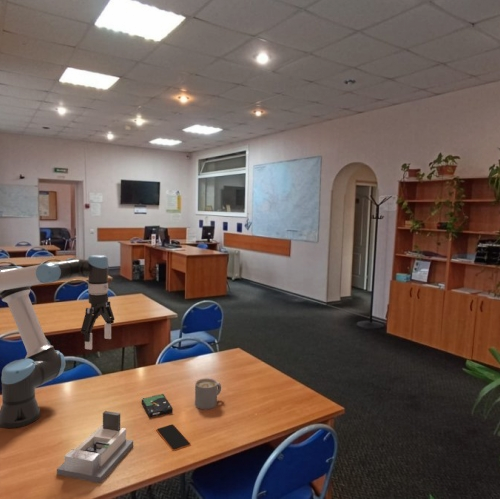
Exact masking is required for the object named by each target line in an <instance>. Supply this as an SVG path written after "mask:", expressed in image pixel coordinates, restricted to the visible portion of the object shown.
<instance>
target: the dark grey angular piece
mask: <svg viewBox="0 0 500 499" xmlns="http://www.w3.org/2000/svg"><path fill="white" fill-rule="evenodd" d="M96 444H100V445H106V446H109V443H105V442H99V441H97V442H96V443H94V448H91V447H88V448H87V449H86V451H87V452H93V453H98V452H99V451H100V450H101V449H96Z"/></svg>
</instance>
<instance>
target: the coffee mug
mask: <svg viewBox="0 0 500 499" xmlns="http://www.w3.org/2000/svg"><path fill="white" fill-rule="evenodd" d="M194 388H195V390H194V394H195V395H194V405H195V408H198V409H199V410H211V409H214V408H215V407H217V406H218V395H219V394H220V393H221V391H222V384H221V382H218V381H217V380H215V379H213V378H207V377H206V378H205V377H204V378H200V379H197V380H196V381H195V387H194Z"/></svg>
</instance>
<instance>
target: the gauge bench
mask: <svg viewBox="0 0 500 499" xmlns="http://www.w3.org/2000/svg"><path fill="white" fill-rule="evenodd" d="M102 429H103V424H101V425H100V426H99V427H98V428H97V429H96V430H95V431H94V432H93V433H91V434H90V435H89V436H87V438H86V439H84V441H82V442H81V443H80V444H79V445H78V446H77V447H75V449H76V450H82V451H86V449H87V448H88V447H91V448H94V436H95V435H96V434H97V433H99V432H100V431H101V430H102ZM108 443H109V446H106V445H104V446H103V447H102V448H97V447H96V449H101V450H100V451H99V452H98V453H99V469H98V470H97V471H96V472H95V473H94V474H93V475H92V476H91V475H86V474H81V473H75V472H70V471H65V461H64V462H63V463H62V464H61V465H60V466H58V467H57V468H56V475H58V476H62V477H67V478H73V479H78V480H83V481H86V482H87V481H88V482H94V483H98V484H101V483H102V482H103V481H104V480H105V479H106V478H107V477H108V476H109V474H110V473H111V472H112V471H113V470H114V469H115V467H116V466H117V465H118V464H119V463H120V462H121V460H122V459H123V458H124V457H125V456H126V455H127V453H128V452H130V450H131V449H132V448H133V446H134V440H131V439H127V428H125V427H122V428H120V431H119V432H118V433H117V434H116V435H115V436H114V437H113V438H112V439H111V440H110V441H109V442H108Z"/></svg>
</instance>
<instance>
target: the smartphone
mask: <svg viewBox="0 0 500 499" xmlns="http://www.w3.org/2000/svg"><path fill="white" fill-rule="evenodd" d="M155 430H156V432H157V433H158V435H159V436H160V437H161V438H162V440H163V441H164V442H165V443H166V444H167V446H168V447H169V449H170V450H171V451H172V452H175V451H179V450H180V449H184V448H187V447H190V446H191V445H192V444H191V442H190V441H189V440H188V439H187V438H186V437H185V436H184V434H182V433H181V431H180V429H178V428H177V427H176V425H174V424H172V423H171V424H169V425H165V426H162V427H158V428H156V429H155Z"/></svg>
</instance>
